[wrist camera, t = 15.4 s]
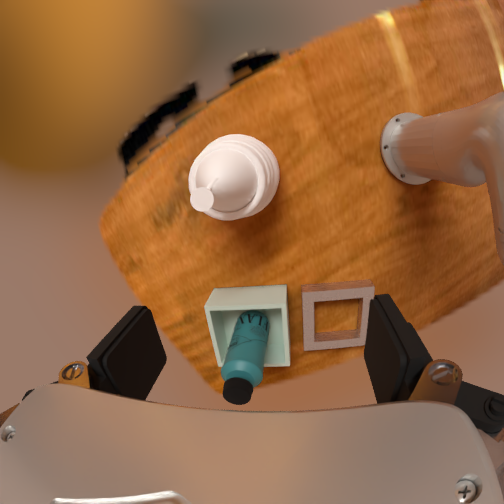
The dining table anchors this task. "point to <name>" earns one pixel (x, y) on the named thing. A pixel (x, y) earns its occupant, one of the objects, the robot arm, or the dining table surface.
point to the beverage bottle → (245, 357)
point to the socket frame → (336, 292)
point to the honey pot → (233, 177)
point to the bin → (244, 299)
